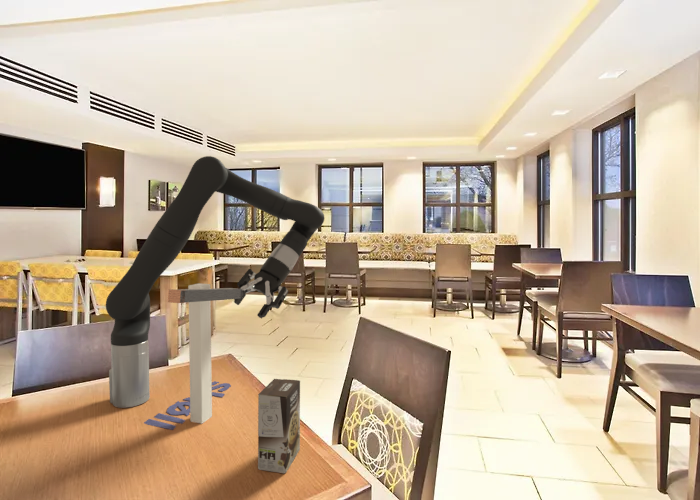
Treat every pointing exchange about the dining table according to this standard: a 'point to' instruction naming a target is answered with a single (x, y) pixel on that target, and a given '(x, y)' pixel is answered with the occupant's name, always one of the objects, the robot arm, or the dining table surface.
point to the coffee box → (278, 425)
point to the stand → (200, 358)
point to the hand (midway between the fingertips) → (247, 310)
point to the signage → (182, 409)
